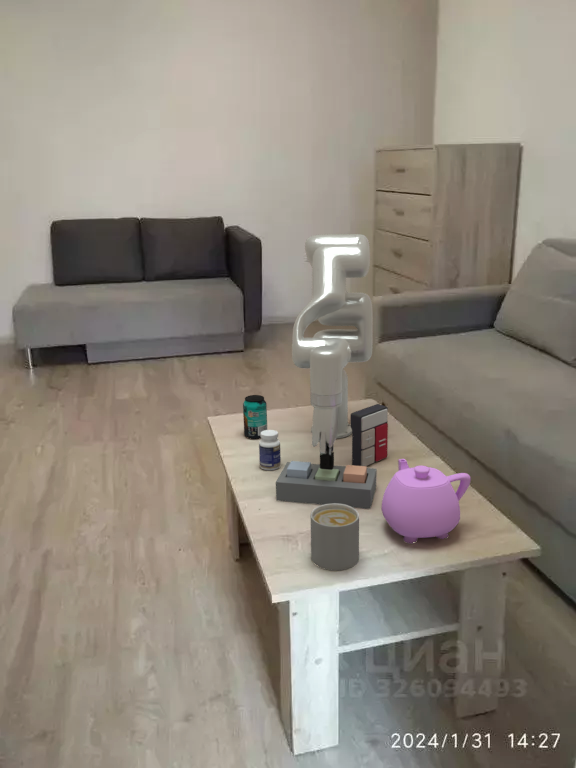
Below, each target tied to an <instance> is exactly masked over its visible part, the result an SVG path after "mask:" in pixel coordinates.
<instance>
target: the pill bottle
mask: <svg viewBox="0 0 576 768" xmlns="http://www.w3.org/2000/svg"><path fill="white" fill-rule="evenodd" d="M278 437H279V432H278V430H276V429H275V430H274V429H267V430H264V431H262V432H261V439H260V440H259V442H258V448H259V449H258V450H259V451H258V453H259V455H258V457H259V460H258V461H259V467H260V468H261V469H262V470H264V471H274V470H275V471H276V470H278V469H280V468H281V465H282V462H281V461H282V458H281V441H280V440H279V438H278Z"/></svg>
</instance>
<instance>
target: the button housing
mask: <svg viewBox="0 0 576 768" xmlns="http://www.w3.org/2000/svg"><path fill="white" fill-rule="evenodd" d="M290 463H291V461H287V462H286V464H285V465H284V467H283V468H282V470H281V472H280V473H279V475H278V477H277V479H276V481H275V499H276V502H288V503H301V504H308V505H309V504H310V505H311V504H312V505H319V506H321V505H324V504H332V503H337V504H345V505H348V506H351V507H353V508H354V509H356V508H357V509H364V510H371V508H372V503H373V500H374V497H375V493H376V489H377V468H373V467H367V480H366V484H365V483H352V482H343V473H344V471H345V468H346V465H335V464H334V467H333V469H339V476H338V479H337V481H327V480H315V475H316V473H317V471H318V469H319V468H320V463H311V474H310V476H309V478H308V479H303V478H290V477H287V468H288V466H289V464H290Z"/></svg>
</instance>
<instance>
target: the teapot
mask: <svg viewBox="0 0 576 768" xmlns="http://www.w3.org/2000/svg"><path fill="white" fill-rule="evenodd" d="M397 462H398V466H397V467H398V470H397V471H396V472H395V473H394V474H393V476H392V477H391V479H390V480H389V482H388V484H387V486H386V488H385V490H384V492H383V497H382V500H381V507H380V508H381V513H382V516H383V517H384V519H385V521H386V522H387V524H388V525H389V527H390V528H391V529H392V530H393V531H394V532H395V533H397V534H398V535H399V536H403V542H404V541H405V543H406V544H414V543H413V542H416V541H417V542H418V539H420V538H422V539H424V538H438V539H439V538H440V540H445V539H444V538H446V539H448V538H449V537H450V536H449V532H451V531H453V530H454V529H455V527H456V526H457V525H458V524H459V523H460V520H461V507H460V503H459V501H460V500H461V499H462V498H463V497H464V495H465V493H466V492H467V490H468V488H469V487H470V484H471V479H472V477H471V476H470V474H468V473H467V472H460V473H455V474H451V475H445V474H444V473H443V471H441V470H439V469H437V468H435V467H430V466H429V467H428V466H426V465H416V466H414V467H409V464H408V461H407V460H406V459H405V458H399V459H398V461H397ZM457 481H459V486H458V488H457V490H456V491H455V490H454V488H453V486H452V483H453V482H457ZM435 536H436V537H435ZM448 536H449V537H448ZM447 537H448V538H447ZM417 542H416V543H417Z"/></svg>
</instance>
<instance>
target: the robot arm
mask: <svg viewBox="0 0 576 768" xmlns="http://www.w3.org/2000/svg"><path fill="white" fill-rule="evenodd" d="M304 249H305V253H306V254H305V255H306V258H307V260H308V262H309V264H310V266H311V268H312V269H311V270H312V271H311V276H312V277H311V299H310V301H309V302H308V303H307V304H306V305H305V306H304V307H303V308H302V309H301V311H300V312H299V314H298V315H297V317H296V319H295V321H294V324H293V327H292V340H291V341H292V343H291V356H292V357H291V359H292V362H293V365H295V366H296V367H297V368H299V369H309V382H310V385H309V388H310V405H311V407H313V413H312V426H311V428H310V432H311V435H312V437H311V445H312V447H313V448H314V447H317V446H318V445H319V464H320V469H327V470H332V469H333V467H334V465H335V462H334V461H335V452H334V447H335V446H334V443H335V441H336V439H342V438H346V437H349V436H351V435H352V429H351V423H348V422H349V418H348V415H349V411H348V410H349V407H348V406H349V397H348V396H349V393H348V392H349V389H348V388H349V385H348V383H349V378H348V373H347V372H346V370H345V367H346V366H347V365H348V363H364V362H368V361H369V360H370V359H371V357H372V355H373V344H374V343H373V341H374V339H373V336H374V335H373V334H374V333H373V330H374V329H373V328H374V327H373V326H374V325H373V322H374V321H373V320H374V319H373V316H374V313H373V302H372V299H371V297H370V295H369V294H367V293H366V292H360V291H358V292H355V291H354V292H351V291H350V292H349V291H347V279H348V278H352V279H353V278H356V279H357V278H358V279H359V278H364V277H366V276H367V275H368V273H369V271H370V267H371V266H370V265H371V247H370V240H369V239H368V237H367V236H366V235H364V234H360V233H356V234H355V233H352V234H351V233H349V234H345V233H344V234H342V233H341V234H339V233H338V234H335V233H334V234H333V233H332V234H330V233H329V234H328V233H327V234H326V233H325V234H316V235H311V236H309V237H308V238H307V239H306V241H305V242H304ZM316 320H317V321H318V322H319V323H320V324H321V325H323V326H330V327H331V326H332V327H334V326H335V327H344V326H345V327H346V326H347V327H349V326H350V327H355V328H356V329H344V328H342V329H341V328H340V329H339V328H338V329H337V328H335V329H334V328H333V329H332V328H331V329H322V330H318V331H317V332H316V333H314V335H313V337H304V335H305V331H306V330H307V328H308V326H310V324H312V323H313V322H314V321H316Z"/></svg>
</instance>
